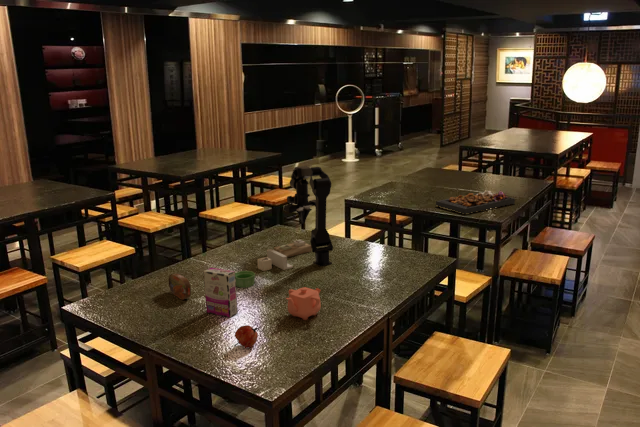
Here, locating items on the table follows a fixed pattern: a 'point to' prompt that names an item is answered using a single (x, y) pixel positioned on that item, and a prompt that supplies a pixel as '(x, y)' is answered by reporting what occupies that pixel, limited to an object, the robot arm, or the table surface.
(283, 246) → the button
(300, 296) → the pink rounded piece
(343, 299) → the table surface
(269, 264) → the letter block
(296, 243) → the T button
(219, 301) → the candy bar box
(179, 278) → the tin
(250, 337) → the red apple
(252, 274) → the ramekin
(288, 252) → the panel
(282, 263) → the grey screen
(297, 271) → the table surface
